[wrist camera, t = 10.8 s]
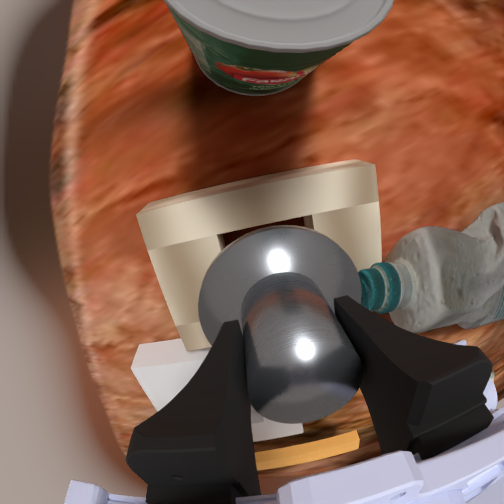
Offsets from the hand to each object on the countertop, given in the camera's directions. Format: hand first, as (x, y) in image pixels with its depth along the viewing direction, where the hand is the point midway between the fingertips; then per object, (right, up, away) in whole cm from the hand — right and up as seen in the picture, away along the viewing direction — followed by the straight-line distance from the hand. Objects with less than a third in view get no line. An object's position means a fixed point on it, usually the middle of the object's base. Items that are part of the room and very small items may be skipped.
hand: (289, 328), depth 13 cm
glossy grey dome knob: (0, +2, +5) cm, 6 cm away
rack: (-1, +3, +8) cm, 9 cm away
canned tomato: (-1, +17, +3) cm, 17 cm away
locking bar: (+1, -16, +12) cm, 20 cm away
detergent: (+17, +3, +9) cm, 19 cm away
